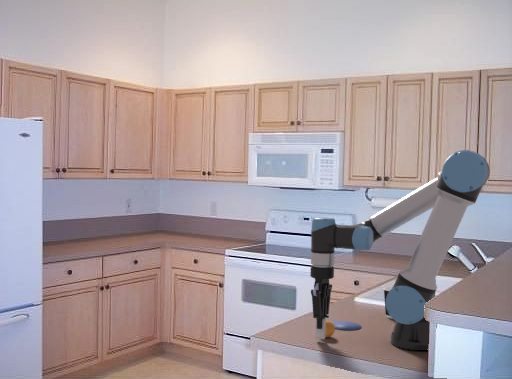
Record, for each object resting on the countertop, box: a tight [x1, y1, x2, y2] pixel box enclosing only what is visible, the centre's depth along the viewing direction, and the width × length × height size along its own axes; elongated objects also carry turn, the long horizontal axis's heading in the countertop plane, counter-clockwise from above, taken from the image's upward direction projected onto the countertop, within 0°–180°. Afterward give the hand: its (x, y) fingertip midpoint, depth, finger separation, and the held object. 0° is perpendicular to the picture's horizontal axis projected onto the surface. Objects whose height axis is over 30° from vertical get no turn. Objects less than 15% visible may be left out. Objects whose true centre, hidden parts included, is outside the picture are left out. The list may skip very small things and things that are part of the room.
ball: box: [325, 319, 336, 338], centre depth 188 cm, size 6×6×6 cm
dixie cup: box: [383, 286, 394, 320], centre depth 218 cm, size 8×8×11 cm
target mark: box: [331, 320, 362, 331], centre depth 203 cm, size 12×12×1 cm
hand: (320, 338), depth 183 cm, fingers closed
